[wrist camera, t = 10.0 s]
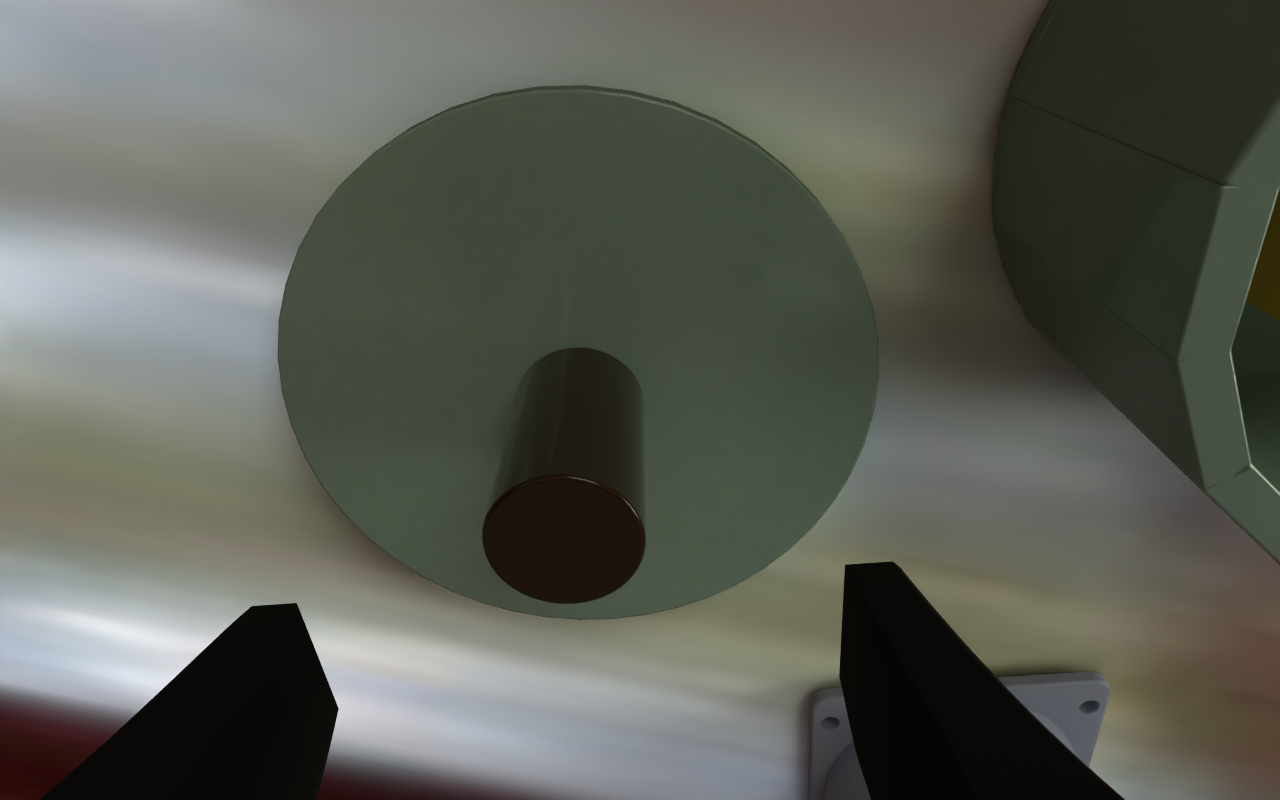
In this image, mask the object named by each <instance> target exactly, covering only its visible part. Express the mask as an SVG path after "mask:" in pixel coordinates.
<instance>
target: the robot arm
mask: <svg viewBox="0 0 1280 800" xmlns="http://www.w3.org/2000/svg"><path fill="white" fill-rule="evenodd" d="M839 677H840V682H841V686H842V687H838V688H826V689H821V690H819V691H817V692H816V693H815V694H814V695H813V696H812V697H811V699H810V705H809V753H808V800H1125V799H1124V798H1122V797H1121V796H1120V795H1119V794H1118V793H1117V792H1116V791H1114V790H1113V789H1112V788H1111V787H1110V786H1109V785H1108V784H1106V783H1105V782H1104V781H1103V780H1102V779H1101V778H1100V777H1099V776H1097V775H1096V774H1095V773H1094V772H1093V771H1092V770H1091V769H1090V768H1089V765H1090V762H1091V758H1092V755H1093V751H1094V748H1095V744H1096V741H1097V737H1098V734H1099V730H1100V727H1101V723H1102V720H1103V716H1104V713H1105V709H1106V706H1107V702H1108V699H1109V695H1110V686H1109V684H1108V683H1107V681H1106V679H1105V678H1104V677H1103V675H1102V674H1100V673H1098V672H1092V671H1083V672H1068V673H1053V674H1037V675H1022V676H1007V677H996V676H995V675H994V674H993V673H992V672H991V671H990V670H989V669H988V668H987V667H986V666H985V665H984V663H983V662H982V661H981V660H980V659H979V658H978V657H977V656H976V655H975V654H974V653H973V652H972V651H971V649H970V648H969V647H968V646H967V645H966V644H965V643H964V642H963V641H962V640H961V638H960V637H959V636H958V635H957V634H956V633H955V632H954V630H953V629H952V628H951V627H950V626H949V625H948V624H947V623H946V621H945V620H944V619H943V618H942V617H941V616H940V615H939V613H938V612H937V611H936V610H935V609H934V608H933V606H932V605H931V604H930V603H929V602H928V600H927V599H926V598H925V597H924V596H923V595H922V593H921V592H920V591H919V590H918V589H917V587H916V586H915V585H914V584H913V582H912V581H911V580H910V579H909V578H908V576H907V575H906V574H905V573H904V571H903V570H902V569H901V568H900V567H899V566H898V565H896V564H895V563H894V562H879V563H865V564H850V565H845V578H844V597H843V616H842V636H841V655H840V674H839ZM337 713H338V706H337V704H336V701H335V698H334V696H333V693H332V691H331V688H330V686H329V683H328V681H327V678H326V676H325V673H324V671H323V668H322V666H321V663H320V661H319V658H318V656H317V653H316V651H315V648H314V646H313V643H312V641H311V638H310V635H309V633H308V630H307V628H306V625H305V623H304V620H303V618H302V615H301V613H300V610H299V608H298V605H297V603H291V604H277V605H262V606H251V607H250V608H249V609H248V610H247V611H246V612H245V613H243V614H242V615H241V616H240V617H239V618H238V619H237V620H236V621H234V622H233V623H232V624H231V625H230V626H229V627H228V628H227V629H226V630H225V631H224V632H222V633H221V634H220V635H219V636H218V637H217V638H216V639H215V640H214V641H213V642H212V643H211V644H210V645H209V646H208V647H207V648H205V649H204V650H203V651H202V652H201V653H200V654H199V655H198V656H197V657H196V658H195V659H194V660H193V661H192V662H191V663H190V664H189V665H188V666H187V667H185V668H184V669H183V670H182V671H181V672H180V673H179V674H178V675H177V676H176V677H175V678H174V679H173V680H172V681H171V682H170V683H169V684H168V685H167V686H165V687H164V688H163V689H162V690H161V691H160V692H159V693H158V694H157V695H156V696H155V697H154V698H153V699H152V700H150V701H149V702H148V703H147V704H146V705H145V706H144V707H143V708H142V709H141V710H140V711H139V712H138V713H137V714H135V715H134V716H133V717H132V718H131V719H130V720H129V721H128V722H127V723H126V724H125V725H124V726H123V727H122V728H120V729H119V730H118V731H117V732H116V733H115V734H114V735H113V736H112V737H111V738H110V739H109V740H107V741H106V742H105V743H104V744H103V745H102V746H101V747H100V748H98V749H97V750H96V751H95V752H94V753H93V754H92V755H90V756H89V757H88V758H87V759H86V760H85V761H84V762H82V763H81V764H80V765H79V766H78V767H77V768H76V769H74V770H73V771H72V772H71V773H70V774H69V775H68V776H66V777H65V778H64V779H63V780H62V781H61V782H60V783H58V784H57V785H56V786H55V787H54V788H53V789H52V790H50V791H49V792H48V793H47V794H46V795H45V796H43V797H42V798H41V799H40V800H315V798H316V795H317V793H318V790H319V787H320V784H321V780H322V776H323V772H324V768H325V764H326V761H327V757H328V753H329V749H330V744H331V740H332V735H333V731H334V727H335V722H336V718H337ZM828 717H829V718H828Z"/></svg>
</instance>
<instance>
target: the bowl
mask: <svg viewBox="0 0 1280 800" xmlns="http://www.w3.org/2000/svg"><path fill="white" fill-rule="evenodd" d="M1279 189H1280V0H1051V2H1050V3H1049V5H1048V7H1047V9H1046V10H1045V12H1044V14H1043V16H1042V17H1041V19H1040V21H1039V23H1038V24H1037V26H1036V28H1035V30H1034V32H1033V34H1032V37H1031V39H1030V41H1029V43H1028V46H1027V48H1026V50H1025V53H1024V55H1023V57H1022V59H1021V62H1020V64H1019V66H1018V68H1017V71H1016V73H1015V76H1014V79H1013V82H1012V86H1011V89H1010V92H1009V95H1008V98H1007V102H1006V105H1005V108H1004V111H1003V114H1002V119H1001V124H1000V129H999V134H998V140H997V145H996V150H995V156H994V170H993V186H992V203H993V216H994V228H995V235H996V239H997V244H998V248H999V252H1000V257H1001V261H1002V265H1003V268H1004V270H1005V272H1006V275H1007V277H1008V280H1009V282H1010V285H1011V287H1012V290H1013V292H1014V294H1015V296H1016V298H1017V299H1018V301H1019V303H1020V304H1021V307H1022V310H1023V313H1024V316H1025V317H1026V319H1027V321H1028V322H1029V323H1030V324H1031V325H1032V326H1033V327H1034V328H1035V329H1036V330H1037V331H1038V332H1039V333H1040V334H1041V335H1042V336H1043V337H1044V338H1045V339H1046V340H1048V341H1049V342H1050V343H1051V344H1052V345H1053V346H1054V347H1055V348H1056V349H1057V350H1058V351H1059V352H1060V353H1061V354H1062V355H1063V356H1064V357H1065V358H1066V359H1067V360H1068V361H1069V362H1070V363H1071V364H1072V365H1073V366H1074V367H1075V368H1076V369H1077V370H1078V371H1079V372H1080V373H1081V374H1082V375H1083V376H1084V377H1086V378H1087V379H1088V380H1089V381H1090V382H1091V383H1092V384H1093V385H1094V386H1095V387H1096V388H1097V389H1098V390H1099V391H1100V392H1101V393H1102V394H1103V395H1104V396H1105V397H1106V398H1107V399H1108V400H1109V401H1110V402H1111V403H1112V404H1113V405H1114V406H1115V407H1116V408H1117V409H1118V410H1119V411H1120V412H1121V413H1122V414H1124V415H1125V416H1126V417H1127V418H1128V419H1129V420H1130V421H1131V422H1132V423H1133V424H1134V425H1135V426H1136V427H1137V428H1138V429H1139V430H1140V431H1141V432H1142V433H1143V434H1144V435H1145V436H1146V437H1147V438H1148V439H1149V440H1150V441H1151V442H1152V443H1153V444H1154V445H1155V446H1156V447H1157V448H1158V449H1159V450H1160V451H1162V452H1163V453H1164V454H1165V455H1166V456H1167V457H1168V458H1169V459H1170V460H1171V461H1172V462H1173V463H1174V464H1175V465H1176V466H1177V467H1178V468H1179V469H1180V470H1181V471H1182V472H1183V473H1184V474H1185V475H1186V476H1187V477H1188V478H1189V479H1190V480H1191V481H1192V482H1193V483H1194V484H1195V485H1196V486H1197V487H1199V488H1200V489H1201V490H1202V491H1203V492H1204V493H1205V494H1206V495H1207V496H1208V497H1209V498H1210V499H1211V500H1212V501H1213V502H1214V503H1215V504H1216V505H1217V506H1218V507H1219V508H1220V509H1221V510H1223V511H1224V512H1225V513H1226V514H1227V515H1228V516H1229V517H1230V518H1231V519H1232V520H1233V521H1234V522H1235V523H1236V524H1237V525H1238V526H1239V527H1240V528H1241V529H1242V530H1243V531H1245V532H1246V533H1247V534H1248V535H1249V536H1250V537H1251V538H1252V539H1253V540H1254V541H1255V542H1256V543H1257V544H1258V545H1259V546H1260V547H1261V548H1262V549H1263V550H1264V551H1265V552H1267V553H1268V554H1269V555H1270V556H1271V557H1272V558H1273V559H1274V560H1275V561H1276V562H1277V563H1278V564H1279V565H1280V322H1279V321H1278V320H1276V319H1274V318H1273V317H1271V316H1269V315H1268V314H1266V313H1264V312H1262V311H1261V310H1259V309H1257V308H1256V307H1254V306H1252V305H1251V304H1249V303H1247V302H1246V299H1247V295H1248V292H1249V289H1250V285H1251V282H1252V279H1253V275H1254V272H1255V269H1256V265H1257V262H1258V259H1259V255H1260V252H1261V249H1262V245H1263V242H1264V239H1265V236H1266V232H1267V229H1268V226H1269V222H1270V219H1271V216H1272V212H1273V209H1274V206H1275V202H1276V199H1277V196H1278V192H1279Z"/></svg>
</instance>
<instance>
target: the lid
mask: <svg viewBox="0 0 1280 800" xmlns="http://www.w3.org/2000/svg"><path fill="white" fill-rule="evenodd" d="M278 362H279V370H280V378H281V386H282V393H283V397H284V400H285V404H286V408H287V411H288V415H289V419H290V422H291V426H292V428H293V430H294V433H295V435H296V437H297V440H298V442H299V444H300V447H301V449H302V451H303V454H304V456H305V458H306V460H307V461H308V463H309V465H310V466H311V468H312V470H313V471H314V473H315V475H316V476H317V478H318V480H319V481H320V483H321V485H322V486H323V488H324V489H325V490H326V491H327V493H328V494H329V495H330V497H331V498H332V499H333V500H334V502H335V503H336V504H337V506H338V507H339V508H340V509H341V511H342V512H343V513H344V514H345V515H346V516H347V517H348V518H349V519H350V520H351V521H352V522H353V523H354V524H355V525H356V526H357V527H358V528H359V529H360V530H361V531H362V532H363V533H364V534H365V535H366V536H367V537H368V538H369V539H370V540H371V541H373V542H374V543H375V544H376V545H378V546H379V547H380V548H381V549H383V550H384V551H385V552H386V553H388V554H389V555H390V556H391V557H393V558H394V559H396V560H397V561H399V562H400V563H402V564H403V565H405V566H406V567H408V568H410V569H411V570H413V571H414V572H416V573H417V574H419V575H420V576H422V577H424V578H426V579H428V580H430V581H432V582H434V583H436V584H438V585H440V586H442V587H444V588H446V589H448V590H450V591H452V592H455V593H458V594H460V595H463V596H465V597H468V598H471V599H473V600H476V601H478V602H481V603H484V604H488V605H492V606H495V607H499V608H503V609H506V610H510V611H514V612H519V613H525V614H531V615H537V616H542V617H550V618H564V619H577V620H587V619H616V618H624V617H633V616H641V615H647V614H652V613H656V612H661V611H665V610H670V609H674V608H678V607H681V606H684V605H687V604H690V603H693V602H696V601H699V600H702V599H705V598H708V597H710V596H712V595H715V594H717V593H719V592H721V591H723V590H726V589H728V588H730V587H732V586H735V585H737V584H738V583H740V582H742V581H743V580H745V579H747V578H749V577H750V576H752V575H754V574H755V573H757V572H759V571H761V570H762V569H764V568H765V567H767V566H768V565H769V564H771V563H772V562H773V561H775V560H776V559H777V558H779V557H780V556H781V555H783V554H784V553H785V552H787V551H788V550H789V549H790V548H791V547H793V546H794V545H795V544H796V543H797V542H798V541H799V540H800V539H801V538H802V537H803V536H804V535H805V534H806V533H807V532H808V531H809V530H810V529H811V528H813V526H814V525H815V524H816V523H817V522H818V520H819V519H820V518H821V517H822V515H823V514H824V513H825V512H826V511H827V509H828V508H829V507H830V506H831V504H832V503H833V502H834V500H835V499H836V497H837V496H838V494H839V492H840V491H841V489H842V488H843V486H844V484H845V483H846V481H847V480H848V478H849V476H850V475H851V473H852V470H853V468H854V466H855V464H856V462H857V459H858V457H859V455H860V453H861V450H862V448H863V446H864V443H865V440H866V437H867V433H868V430H869V426H870V423H871V419H872V416H873V412H874V406H875V399H876V392H877V385H878V339H877V333H876V327H875V321H874V314H873V308H872V304H871V301H870V298H869V295H868V292H867V289H866V286H865V283H864V280H863V277H862V274H861V271H860V269H859V267H858V265H857V263H856V261H855V259H854V257H853V255H852V253H851V251H850V249H849V247H848V245H847V243H846V241H845V239H844V237H843V235H842V234H841V232H840V231H839V229H838V228H837V227H836V225H835V224H834V222H833V221H832V220H831V218H830V217H829V215H828V214H827V212H826V211H825V210H824V208H823V207H822V205H821V204H820V202H819V201H818V200H817V198H816V197H815V196H814V195H813V194H812V193H811V192H810V191H809V190H808V189H807V187H806V186H805V185H804V184H803V183H802V182H801V181H800V180H799V179H798V178H797V177H796V176H795V175H794V174H793V173H792V172H791V171H790V170H789V168H788V167H786V166H785V165H784V164H783V163H781V162H780V161H779V160H777V159H776V158H775V157H774V156H772V155H771V154H770V153H769V152H767V151H766V150H765V149H764V148H762V147H761V146H760V145H759V144H757V143H756V142H755V141H753V140H752V139H750V138H748V137H746V136H745V135H743V134H741V133H740V132H738V131H736V130H734V129H733V128H731V127H729V126H728V125H726V124H724V123H722V122H721V121H719V120H717V119H715V118H713V117H710V116H708V115H706V114H703V113H701V112H698V111H696V110H693V109H691V108H688V107H686V106H684V105H681V104H679V103H676V102H673V101H670V100H666V99H662V98H658V97H654V96H650V95H646V94H642V93H638V92H634V91H631V90H623V89H614V88H605V87H596V86H587V85H570V86H537V87H531V88H525V89H519V90H513V91H507V92H501V93H495V94H491V95H488V96H485V97H482V98H479V99H475V100H472V101H469V102H466V103H463V104H460V105H457V106H453V107H450V108H448V109H446V110H444V111H442V112H440V113H438V114H436V115H434V116H432V117H430V118H428V119H426V120H424V121H422V122H420V123H418V124H416V125H414V126H412V127H410V128H409V129H407V130H406V131H404V132H403V133H401V134H400V135H399V136H397V137H396V138H394V139H393V140H391V141H390V142H388V143H387V144H385V145H384V146H383V147H381V148H380V149H378V150H377V151H376V152H374V153H373V154H372V155H371V156H370V157H369V158H368V159H366V160H365V161H364V162H363V163H362V164H361V165H360V166H359V167H358V168H357V169H356V170H355V171H354V172H353V173H352V174H351V175H350V176H348V177H347V178H346V179H345V180H344V181H343V182H342V183H341V184H340V185H339V187H338V188H337V189H336V191H335V192H334V193H333V194H332V196H331V197H330V198H329V200H328V201H327V202H326V204H325V205H324V206H323V207H322V209H321V210H320V211H319V213H318V214H317V215H316V217H315V219H314V221H313V222H312V224H311V226H310V228H309V230H308V232H307V233H306V235H305V237H304V239H303V241H302V243H301V244H300V246H299V248H298V250H297V253H296V256H295V259H294V262H293V264H292V267H291V270H290V273H289V276H288V279H287V281H286V284H285V289H284V295H283V300H282V306H281V311H280V316H279V330H278Z"/></svg>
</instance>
